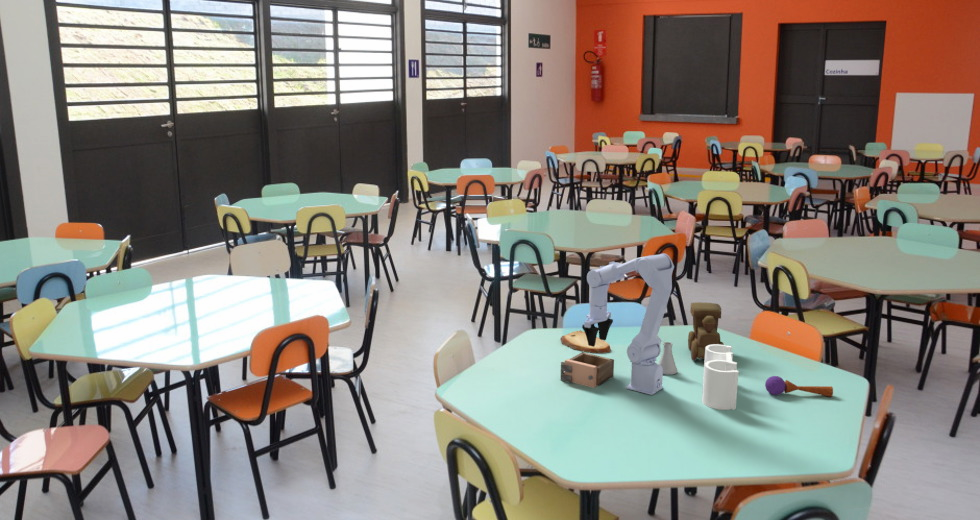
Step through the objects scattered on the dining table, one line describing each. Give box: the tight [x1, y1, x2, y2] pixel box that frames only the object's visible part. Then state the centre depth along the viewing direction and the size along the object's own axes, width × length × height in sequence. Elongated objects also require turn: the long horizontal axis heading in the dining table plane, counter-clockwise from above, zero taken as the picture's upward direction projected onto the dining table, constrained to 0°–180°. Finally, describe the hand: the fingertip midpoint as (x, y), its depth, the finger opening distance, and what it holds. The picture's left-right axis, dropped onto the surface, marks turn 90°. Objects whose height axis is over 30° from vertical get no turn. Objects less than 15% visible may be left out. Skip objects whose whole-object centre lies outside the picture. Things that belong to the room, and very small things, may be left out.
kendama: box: [764, 375, 834, 398], centre depth 255 cm, size 6×6×20 cm
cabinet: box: [560, 351, 615, 387], centre depth 269 cm, size 13×13×6 cm
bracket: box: [701, 344, 740, 411], centre depth 256 cm, size 25×10×12 cm, turn 167°
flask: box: [657, 341, 678, 376], centre depth 274 cm, size 7×7×10 cm
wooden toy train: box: [687, 302, 725, 361], centre depth 289 cm, size 20×11×17 cm, turn 172°
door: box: [564, 358, 597, 389], centre depth 264 cm, size 11×2×7 cm, turn 53°
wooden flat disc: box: [560, 330, 612, 354], centre depth 301 cm, size 18×18×4 cm
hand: (597, 342), depth 275 cm, fingers open, 7 cm apart
